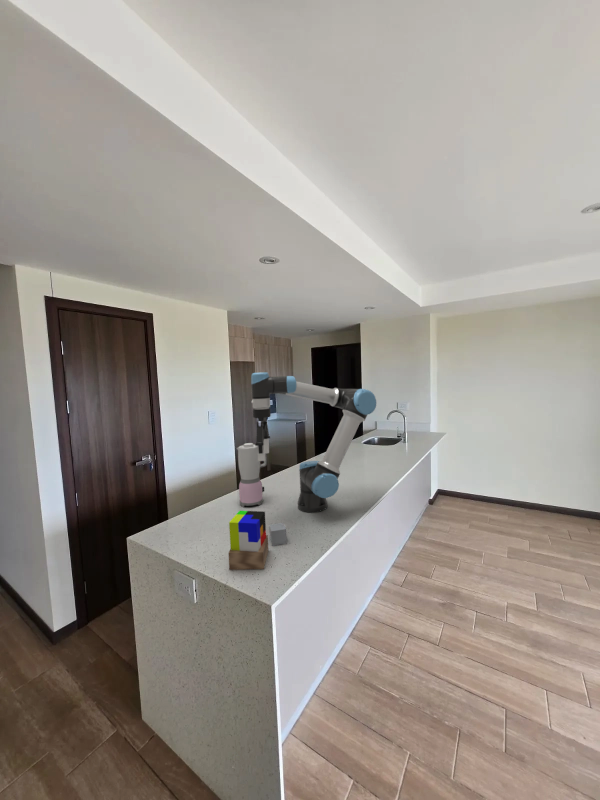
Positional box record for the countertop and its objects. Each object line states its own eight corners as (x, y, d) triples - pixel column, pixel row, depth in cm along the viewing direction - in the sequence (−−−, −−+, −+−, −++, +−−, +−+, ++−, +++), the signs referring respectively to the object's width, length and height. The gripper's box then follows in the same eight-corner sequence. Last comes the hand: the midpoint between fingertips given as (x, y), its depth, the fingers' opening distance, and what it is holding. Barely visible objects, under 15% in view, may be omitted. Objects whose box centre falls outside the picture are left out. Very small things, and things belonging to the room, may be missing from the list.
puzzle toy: (258, 551, 110) (256, 523, 109) (230, 550, 112) (229, 522, 111) (266, 537, 120) (264, 511, 119) (240, 536, 122) (239, 510, 121)
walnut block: (268, 550, 122) (267, 535, 122) (263, 569, 110) (263, 552, 110) (237, 551, 122) (236, 535, 122) (229, 569, 110) (228, 552, 110)
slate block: (284, 536, 132) (283, 522, 132) (286, 543, 127) (286, 529, 126) (269, 538, 131) (269, 524, 131) (271, 546, 125) (271, 531, 125)
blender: (240, 509, 163) (236, 447, 161) (238, 500, 174) (235, 442, 172) (270, 505, 166) (267, 444, 164) (267, 497, 178) (264, 440, 176)
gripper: (257, 406, 150) (259, 450, 152) (247, 411, 125) (249, 464, 127) (273, 405, 150) (275, 450, 151) (266, 410, 125) (268, 464, 126)
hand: (263, 456), depth 139 cm, fingers open, 13 cm apart
